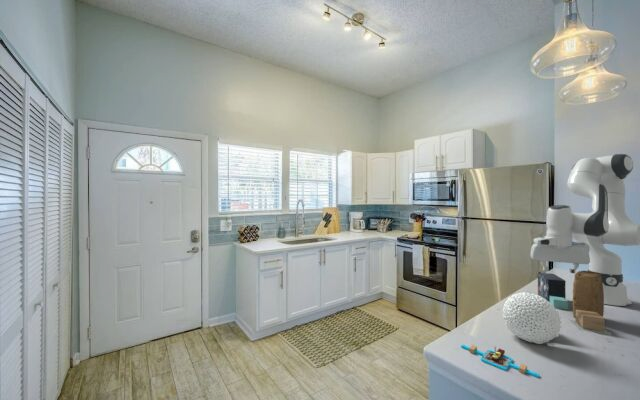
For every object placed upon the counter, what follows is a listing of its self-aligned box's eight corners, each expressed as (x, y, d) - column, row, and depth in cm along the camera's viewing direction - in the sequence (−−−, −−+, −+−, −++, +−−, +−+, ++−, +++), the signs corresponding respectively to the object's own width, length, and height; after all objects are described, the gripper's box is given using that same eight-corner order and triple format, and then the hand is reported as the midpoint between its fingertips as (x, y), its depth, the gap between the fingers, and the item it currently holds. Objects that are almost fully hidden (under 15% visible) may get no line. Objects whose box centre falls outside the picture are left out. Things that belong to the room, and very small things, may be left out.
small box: (537, 294, 139) (537, 271, 139) (553, 296, 136) (553, 273, 136) (547, 304, 127) (548, 278, 127) (566, 306, 124) (566, 280, 124)
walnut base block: (575, 322, 105) (575, 309, 105) (596, 325, 102) (596, 312, 102) (582, 328, 99) (582, 315, 99) (604, 332, 97) (604, 318, 97)
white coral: (579, 333, 81) (540, 281, 91) (517, 349, 86) (488, 299, 96) (567, 337, 95) (536, 292, 105) (516, 351, 101) (490, 307, 111)
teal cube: (549, 306, 124) (549, 295, 124) (563, 308, 121) (563, 297, 121) (553, 310, 119) (553, 299, 119) (568, 312, 117) (568, 301, 117)
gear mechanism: (468, 342, 92) (457, 352, 86) (468, 326, 92) (457, 336, 86) (542, 370, 77) (535, 385, 71) (542, 352, 77) (536, 365, 71)
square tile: (568, 322, 107) (568, 319, 107) (599, 327, 103) (599, 324, 103) (579, 332, 99) (579, 329, 99) (612, 338, 95) (612, 334, 95)
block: (595, 327, 103) (596, 276, 103) (570, 320, 109) (570, 271, 109) (606, 322, 108) (607, 272, 108) (581, 315, 114) (582, 268, 114)
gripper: (586, 241, 119) (586, 273, 119) (529, 238, 127) (529, 267, 127) (593, 243, 113) (593, 276, 113) (533, 240, 122) (533, 270, 122)
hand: (558, 271), depth 120 cm, fingers open, 8 cm apart
